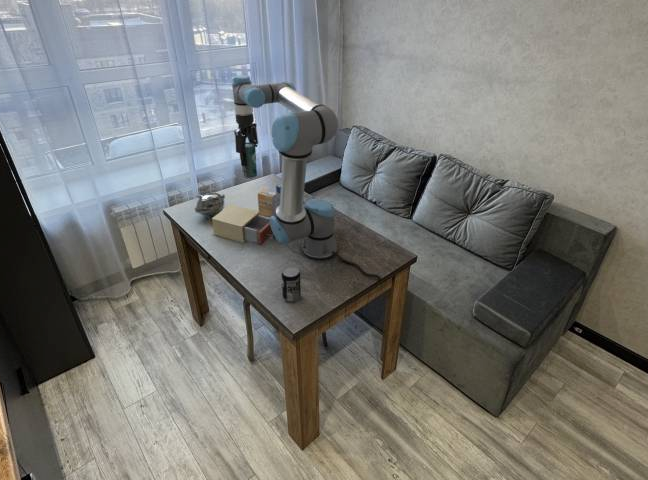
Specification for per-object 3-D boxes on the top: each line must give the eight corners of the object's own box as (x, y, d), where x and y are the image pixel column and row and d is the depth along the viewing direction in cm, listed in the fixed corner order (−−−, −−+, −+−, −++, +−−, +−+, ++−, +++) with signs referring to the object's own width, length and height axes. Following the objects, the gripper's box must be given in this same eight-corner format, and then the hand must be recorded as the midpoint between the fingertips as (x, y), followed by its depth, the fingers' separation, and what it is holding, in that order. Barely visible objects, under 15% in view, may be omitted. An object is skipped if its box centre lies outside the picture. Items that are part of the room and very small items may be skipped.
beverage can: (287, 288, 151) (285, 263, 145) (303, 292, 149) (303, 267, 143) (279, 300, 145) (278, 274, 139) (296, 304, 144) (295, 279, 137)
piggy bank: (192, 214, 193) (189, 194, 187) (222, 206, 201) (219, 186, 195) (201, 225, 185) (197, 203, 180) (231, 215, 193) (228, 195, 187)
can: (258, 176, 184) (256, 145, 177) (246, 179, 181) (243, 148, 174) (253, 171, 188) (250, 141, 181) (241, 174, 185) (238, 143, 178)
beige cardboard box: (260, 227, 186) (259, 211, 182) (243, 243, 175) (241, 226, 170) (232, 219, 191) (230, 204, 186) (214, 234, 179) (211, 218, 175)
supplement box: (258, 216, 194) (256, 193, 187) (263, 212, 198) (262, 188, 191) (273, 220, 191) (271, 196, 185) (278, 216, 195) (277, 192, 188)
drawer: (287, 233, 181) (287, 221, 177) (273, 249, 170) (272, 236, 167) (249, 223, 187) (248, 211, 183) (233, 237, 176) (231, 224, 173)
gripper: (249, 106, 179) (253, 154, 191) (222, 118, 163) (229, 169, 175) (263, 108, 177) (267, 157, 188) (238, 120, 161) (243, 172, 173)
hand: (248, 162), depth 182 cm, fingers closed on can, 6 cm apart
